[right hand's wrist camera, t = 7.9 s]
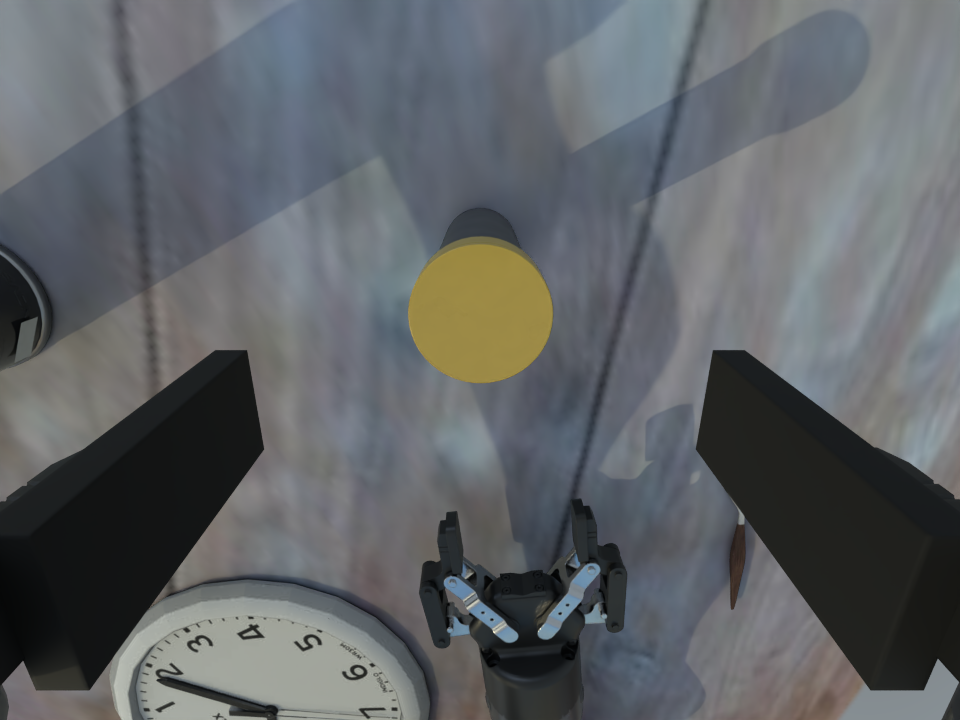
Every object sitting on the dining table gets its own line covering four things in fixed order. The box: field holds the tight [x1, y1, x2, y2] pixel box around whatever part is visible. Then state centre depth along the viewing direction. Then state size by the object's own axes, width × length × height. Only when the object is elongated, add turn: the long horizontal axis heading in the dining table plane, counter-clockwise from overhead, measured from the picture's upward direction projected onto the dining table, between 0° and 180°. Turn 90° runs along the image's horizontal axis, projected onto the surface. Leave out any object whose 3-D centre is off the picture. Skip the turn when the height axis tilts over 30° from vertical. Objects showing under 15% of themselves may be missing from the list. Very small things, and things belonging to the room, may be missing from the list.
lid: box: [408, 236, 553, 383], centre depth 21 cm, size 5×5×2 cm
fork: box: [728, 494, 745, 610], centre depth 42 cm, size 3×16×2 cm, turn 6°
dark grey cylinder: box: [440, 208, 521, 250], centre depth 28 cm, size 5×5×16 cm
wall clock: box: [109, 579, 430, 720], centre depth 50 cm, size 30×2×30 cm
